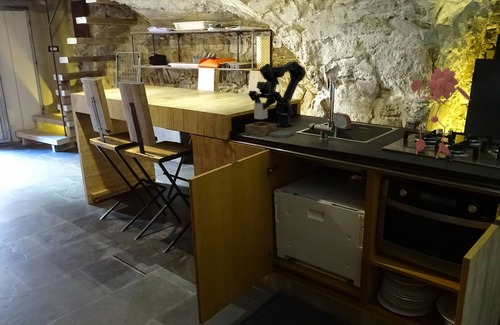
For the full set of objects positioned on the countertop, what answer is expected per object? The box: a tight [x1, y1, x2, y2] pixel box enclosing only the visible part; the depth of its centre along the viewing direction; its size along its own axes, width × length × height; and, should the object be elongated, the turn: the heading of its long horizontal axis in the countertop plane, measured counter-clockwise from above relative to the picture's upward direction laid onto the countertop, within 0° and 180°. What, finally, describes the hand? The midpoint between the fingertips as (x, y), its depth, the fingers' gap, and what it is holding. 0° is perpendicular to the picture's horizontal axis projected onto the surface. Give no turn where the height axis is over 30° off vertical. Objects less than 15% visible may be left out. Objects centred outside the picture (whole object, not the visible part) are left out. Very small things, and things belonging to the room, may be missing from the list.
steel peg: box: [253, 101, 269, 120], centre depth 214 cm, size 5×5×8 cm
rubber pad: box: [268, 129, 296, 139], centre depth 211 cm, size 10×10×2 cm
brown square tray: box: [244, 121, 278, 137], centre depth 217 cm, size 12×12×5 cm
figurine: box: [410, 67, 471, 162], centre depth 164 cm, size 15×26×35 cm, turn 34°
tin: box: [332, 111, 352, 130], centre depth 226 cm, size 15×3×8 cm, turn 25°
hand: (259, 108), depth 213 cm, fingers closed on steel peg, 5 cm apart
